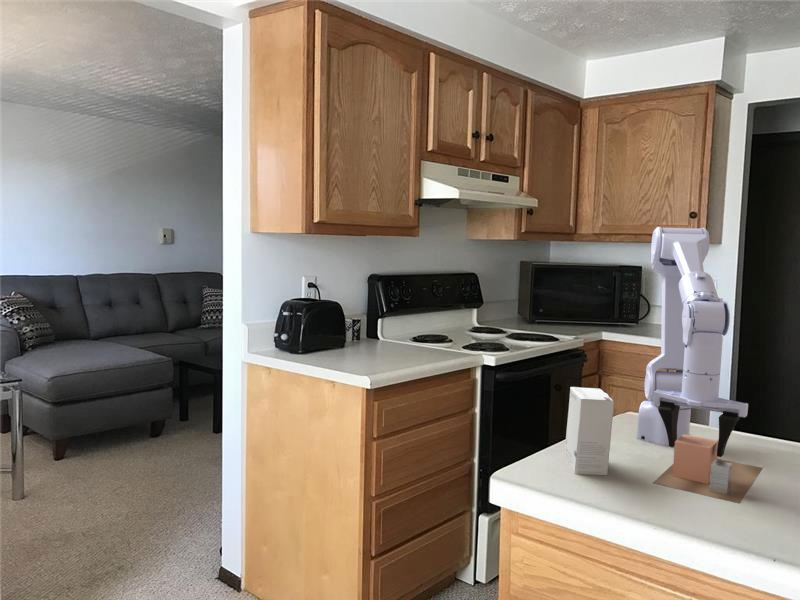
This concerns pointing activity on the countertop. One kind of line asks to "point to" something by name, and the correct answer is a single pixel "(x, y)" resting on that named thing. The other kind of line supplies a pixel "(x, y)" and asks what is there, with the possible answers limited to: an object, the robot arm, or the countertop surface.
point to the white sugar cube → (720, 477)
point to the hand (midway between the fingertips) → (695, 450)
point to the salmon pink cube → (694, 458)
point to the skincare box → (589, 431)
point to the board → (739, 482)
